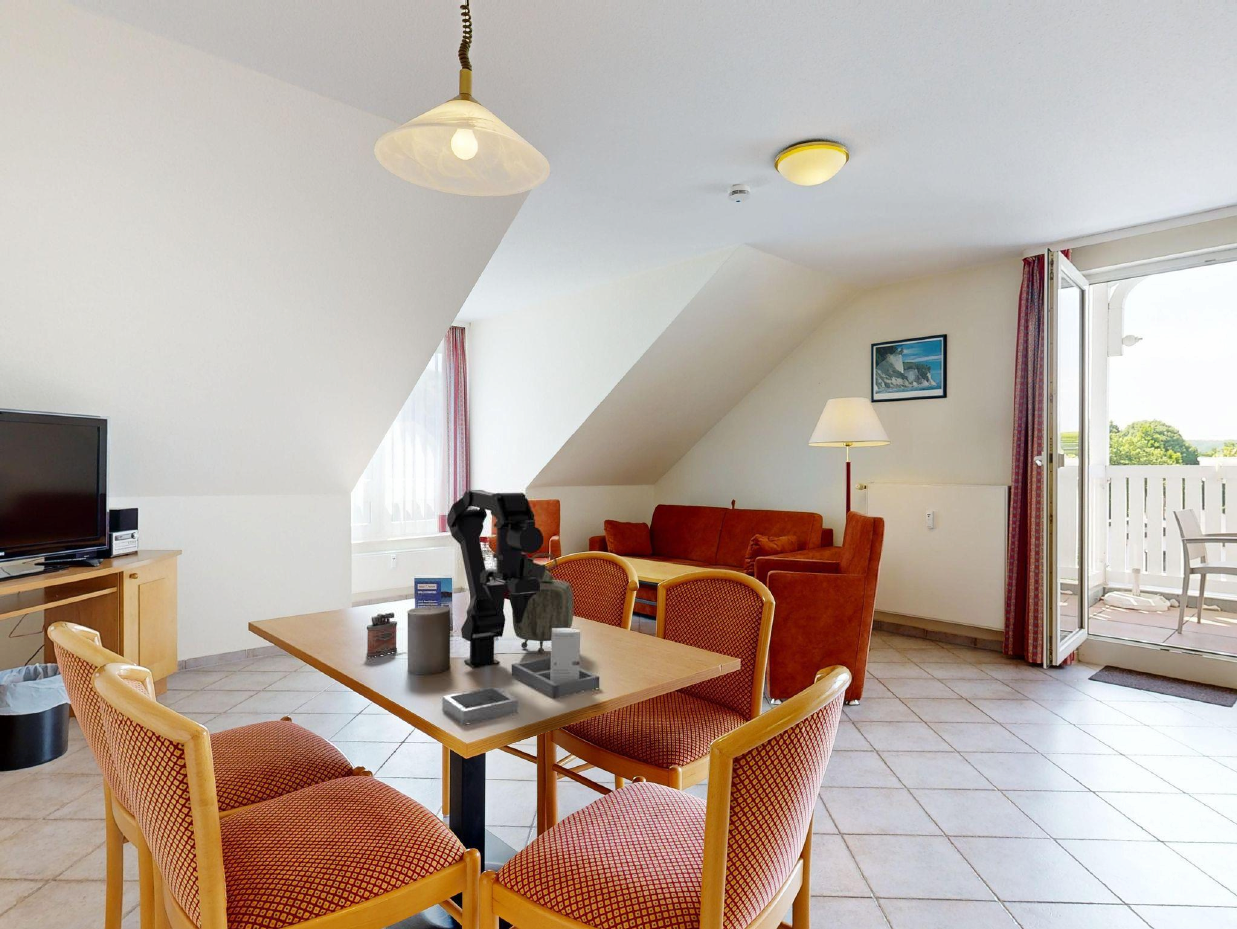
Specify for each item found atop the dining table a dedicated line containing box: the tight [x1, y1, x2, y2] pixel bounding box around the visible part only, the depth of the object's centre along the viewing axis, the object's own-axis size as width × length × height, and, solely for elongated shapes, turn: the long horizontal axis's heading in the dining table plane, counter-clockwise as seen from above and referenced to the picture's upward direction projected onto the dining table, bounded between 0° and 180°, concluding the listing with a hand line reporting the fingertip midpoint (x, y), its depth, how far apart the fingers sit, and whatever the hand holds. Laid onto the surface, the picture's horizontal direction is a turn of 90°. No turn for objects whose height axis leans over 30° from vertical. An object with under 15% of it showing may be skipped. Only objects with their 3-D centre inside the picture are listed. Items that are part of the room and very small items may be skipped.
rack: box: [511, 656, 600, 699], centre depth 149 cm, size 19×11×2 cm, turn 36°
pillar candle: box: [407, 604, 451, 675], centre depth 158 cm, size 10×10×15 cm
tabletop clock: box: [511, 553, 575, 655], centre depth 174 cm, size 14×9×25 cm, turn 84°
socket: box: [441, 685, 519, 726], centre depth 130 cm, size 10×11×2 cm
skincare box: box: [550, 627, 581, 684], centre depth 146 cm, size 6×4×12 cm
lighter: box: [366, 612, 398, 658], centre depth 171 cm, size 8×3×10 cm, turn 143°
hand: (509, 619), depth 151 cm, fingers open, 9 cm apart
